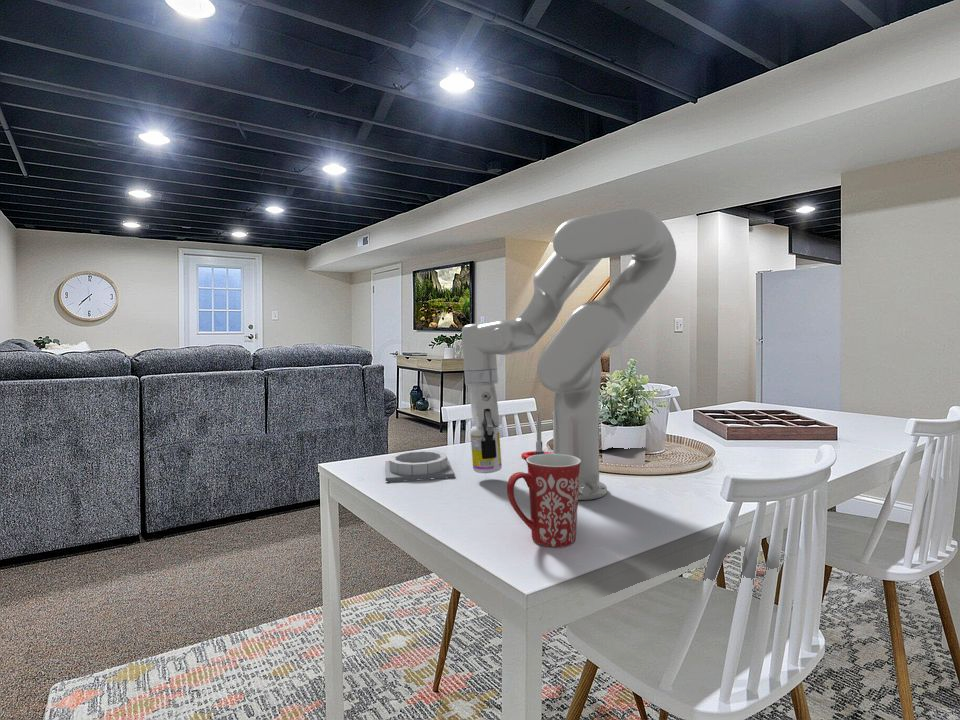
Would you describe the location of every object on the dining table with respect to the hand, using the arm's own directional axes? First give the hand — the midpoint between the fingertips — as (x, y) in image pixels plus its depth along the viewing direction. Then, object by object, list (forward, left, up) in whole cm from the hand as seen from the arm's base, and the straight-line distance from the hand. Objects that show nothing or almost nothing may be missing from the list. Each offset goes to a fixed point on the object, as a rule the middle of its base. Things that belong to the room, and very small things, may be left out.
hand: (486, 454), depth 129 cm
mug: (-37, -3, -6) cm, 38 cm away
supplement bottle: (0, 0, -4) cm, 4 cm away
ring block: (+12, +15, -6) cm, 20 cm away
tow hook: (+18, -17, -6) cm, 25 cm away
